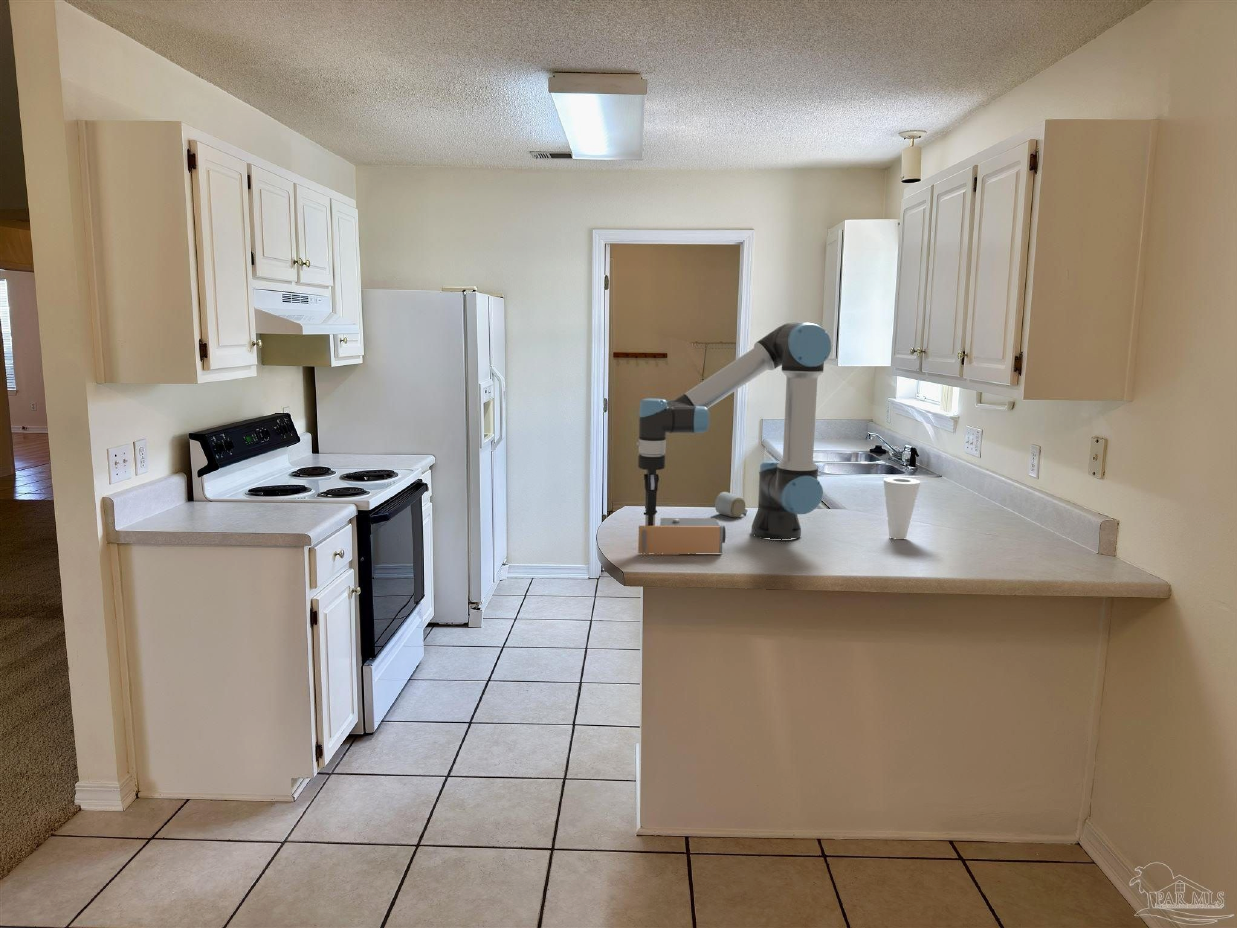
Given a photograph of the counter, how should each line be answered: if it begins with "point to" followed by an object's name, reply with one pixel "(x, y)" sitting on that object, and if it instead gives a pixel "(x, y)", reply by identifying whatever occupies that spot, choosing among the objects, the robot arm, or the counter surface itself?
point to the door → (680, 539)
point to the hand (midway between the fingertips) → (649, 536)
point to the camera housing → (691, 523)
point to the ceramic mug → (730, 505)
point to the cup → (900, 504)
